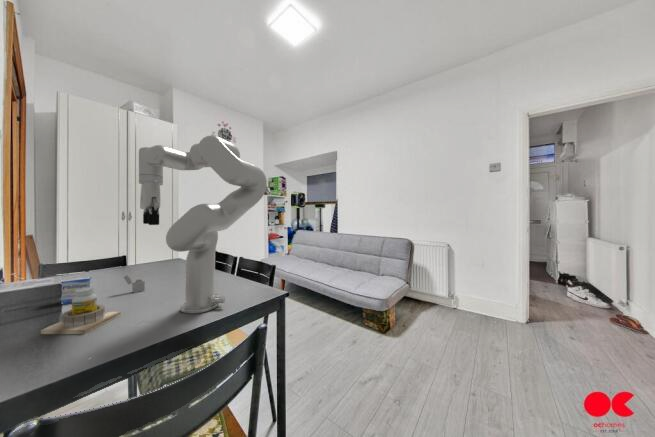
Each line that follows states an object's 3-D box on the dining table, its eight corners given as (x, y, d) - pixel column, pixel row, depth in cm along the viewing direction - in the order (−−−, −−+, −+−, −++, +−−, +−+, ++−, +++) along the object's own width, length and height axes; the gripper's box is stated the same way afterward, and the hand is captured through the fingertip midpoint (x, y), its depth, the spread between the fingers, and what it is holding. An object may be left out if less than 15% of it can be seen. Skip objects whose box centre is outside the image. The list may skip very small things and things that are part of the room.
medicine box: (59, 305, 85) (59, 282, 85) (62, 301, 89) (62, 279, 89) (90, 300, 91) (90, 278, 90) (91, 296, 94) (91, 275, 94)
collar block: (120, 315, 78) (120, 303, 78) (85, 333, 66) (85, 319, 66) (83, 315, 78) (83, 303, 77) (40, 334, 66) (40, 319, 65)
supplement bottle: (99, 314, 76) (99, 285, 76) (94, 321, 71) (94, 290, 71) (75, 318, 73) (75, 288, 73) (69, 325, 68) (68, 293, 68)
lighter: (144, 289, 103) (144, 272, 103) (144, 290, 102) (144, 272, 102) (123, 293, 99) (123, 274, 98) (123, 294, 97) (123, 275, 97)
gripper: (134, 181, 93) (134, 223, 93) (143, 177, 81) (143, 225, 82) (157, 183, 99) (157, 223, 99) (168, 179, 87) (168, 225, 87)
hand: (151, 224), depth 90 cm, fingers open, 9 cm apart
